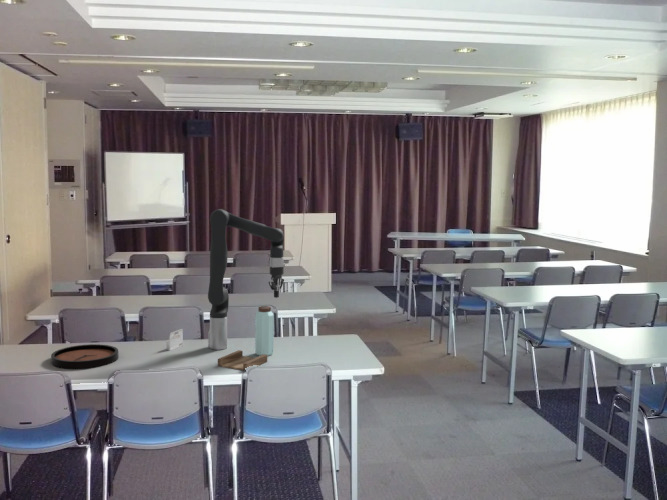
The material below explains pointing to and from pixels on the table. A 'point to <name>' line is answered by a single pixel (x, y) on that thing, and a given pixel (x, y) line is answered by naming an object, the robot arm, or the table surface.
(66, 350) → the wall clock
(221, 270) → the robot arm
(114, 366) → the table surface
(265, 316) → the water bottle
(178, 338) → the ink cartridge box
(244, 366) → the cradle
